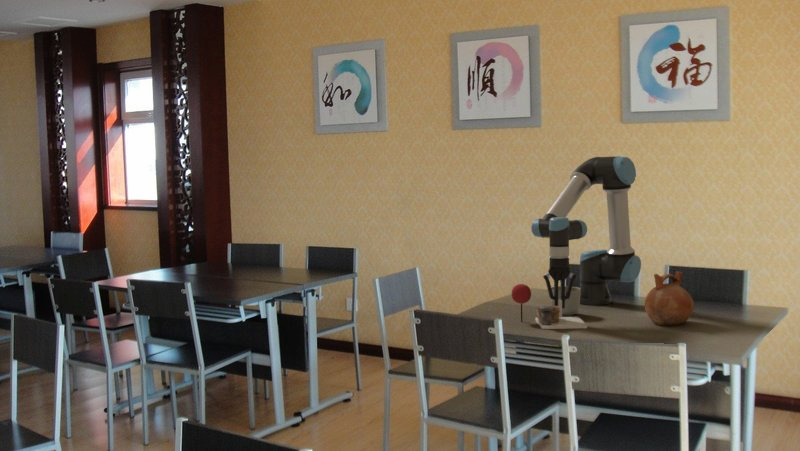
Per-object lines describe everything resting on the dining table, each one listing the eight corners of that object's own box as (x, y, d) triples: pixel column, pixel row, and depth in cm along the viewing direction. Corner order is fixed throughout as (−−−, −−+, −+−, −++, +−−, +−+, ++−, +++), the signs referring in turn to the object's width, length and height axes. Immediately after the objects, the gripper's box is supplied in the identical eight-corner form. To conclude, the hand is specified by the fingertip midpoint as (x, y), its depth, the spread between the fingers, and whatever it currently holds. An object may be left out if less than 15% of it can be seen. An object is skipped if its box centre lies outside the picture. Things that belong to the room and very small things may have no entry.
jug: (668, 330, 304) (669, 276, 302) (633, 321, 320) (634, 271, 318) (704, 324, 313) (704, 272, 311) (668, 316, 329) (669, 267, 327)
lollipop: (532, 320, 327) (532, 283, 325) (529, 324, 320) (529, 286, 318) (513, 319, 329) (513, 282, 328) (510, 323, 322) (509, 285, 321)
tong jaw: (556, 316, 325) (556, 301, 324) (560, 325, 309) (560, 308, 309) (537, 316, 326) (537, 301, 325) (540, 325, 310) (540, 308, 310)
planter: (586, 314, 337) (586, 288, 336) (570, 318, 328) (570, 292, 327) (560, 310, 345) (560, 285, 344) (544, 315, 336) (544, 289, 335)
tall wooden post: (545, 320, 325) (545, 304, 325) (552, 328, 311) (552, 311, 310) (536, 320, 325) (536, 304, 325) (542, 328, 311) (542, 311, 310)
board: (578, 319, 326) (578, 316, 326) (587, 328, 310) (587, 325, 310) (535, 320, 326) (535, 317, 326) (542, 329, 310) (542, 325, 310)
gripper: (573, 255, 322) (574, 314, 324) (540, 256, 322) (541, 315, 324) (578, 257, 315) (578, 318, 317) (544, 258, 315) (544, 319, 317)
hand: (559, 316), depth 320 cm, fingers closed
